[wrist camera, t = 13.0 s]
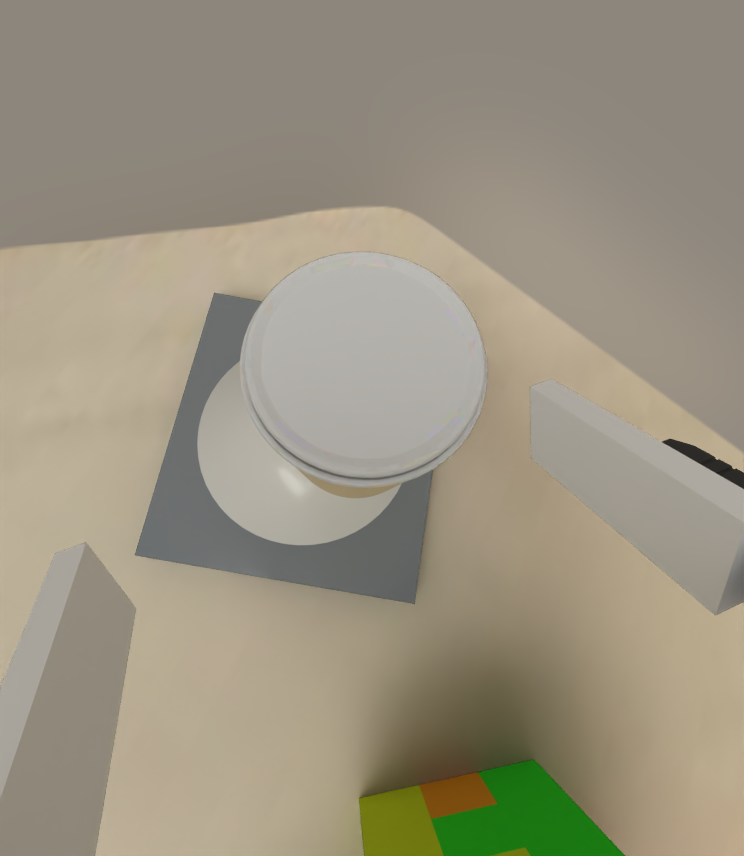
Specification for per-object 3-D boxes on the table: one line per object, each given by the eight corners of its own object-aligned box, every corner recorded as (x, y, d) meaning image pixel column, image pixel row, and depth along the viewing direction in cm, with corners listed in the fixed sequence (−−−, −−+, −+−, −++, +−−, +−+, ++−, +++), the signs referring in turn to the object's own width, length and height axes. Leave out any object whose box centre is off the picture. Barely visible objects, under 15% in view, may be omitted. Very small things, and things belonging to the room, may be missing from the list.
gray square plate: (145, 555, 27) (133, 555, 25) (219, 304, 31) (213, 290, 30) (410, 601, 27) (415, 604, 25) (445, 347, 32) (450, 336, 30)
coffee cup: (417, 527, 27) (478, 508, 15) (261, 496, 26) (201, 453, 15) (439, 382, 29) (507, 271, 18) (297, 353, 29) (271, 221, 17)
